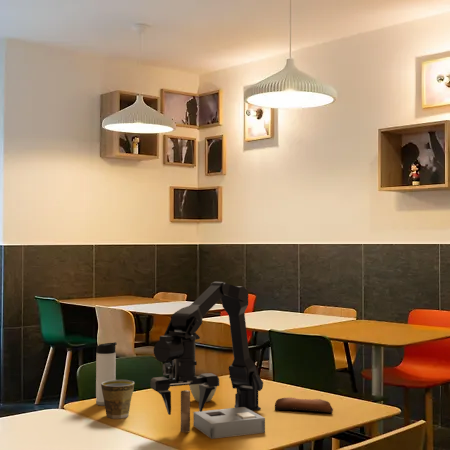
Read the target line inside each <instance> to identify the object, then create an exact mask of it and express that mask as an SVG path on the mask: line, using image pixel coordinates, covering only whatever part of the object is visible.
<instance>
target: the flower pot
mask: <svg viewBox="0 0 450 450" xmlns="http://www.w3.org/2000/svg"><path fill="white" fill-rule="evenodd" d="M188 382H192V381H188ZM188 386H189V389H190V390H189V391H190V394H192V397H193V398H194V400H195V402H197V403H199V396H200V390H199V384H194V385H188ZM214 387H215V389H214V390H212V391H211V393H210V395H209V396H208V398H207V400H206V403H208V402H211V401H212V399H213V397H214V396H215V393H216V391H217V388H218V386H214Z"/></svg>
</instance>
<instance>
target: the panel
mask: <svg viewBox="0 0 450 450" xmlns="http://www.w3.org/2000/svg"><path fill="white" fill-rule="evenodd" d="M245 412H249V413H251V414H253V415H255V418H248V419H242V418H240V417H238V416H237V413H245ZM192 425H193V427H194V428H196V429H197V430H199V432H201V433H203V434H204V435H205V436H207V437H208V438H210V439H212V440H213V439H220V438H230V437H236V436H237V437H238V436H245V435H253V434H254V435H255V434H263V433H266V418H265V417H264V416H262V415H260V414H258V413H256V412H255V411H254V410H249V409H247V408H245V407H238V408H236V407H229V408H222V409H209V410H202V412H200V411H199V410H198V411H193V424H192Z"/></svg>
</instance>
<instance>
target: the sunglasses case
mask: <svg viewBox="0 0 450 450" xmlns="http://www.w3.org/2000/svg"><path fill="white" fill-rule="evenodd" d="M279 410H280V411H284V410H287V411H292V410H296V411H310V412H319V413H320V412H321V413H330V414H331V415H332V414H333V412H334V408H333V407H332V405H331V402H329V401H328V400H325V399H321V398H313V399H311V398H309V399H308V398H296V397H281V398H278V399H276V401H275V403H274V411H279Z"/></svg>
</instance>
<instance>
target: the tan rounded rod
mask: <svg viewBox="0 0 450 450" xmlns="http://www.w3.org/2000/svg"><path fill="white" fill-rule="evenodd" d="M190 431H191V390H187V389H185V390H181V391H180V432H182V433H190Z"/></svg>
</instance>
